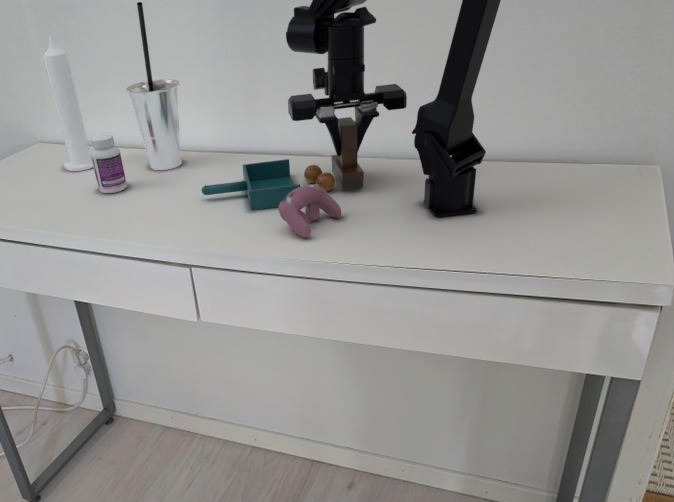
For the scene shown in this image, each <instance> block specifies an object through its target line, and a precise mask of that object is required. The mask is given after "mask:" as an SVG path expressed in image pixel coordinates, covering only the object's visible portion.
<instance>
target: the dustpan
mask: <svg viewBox="0 0 674 502" xmlns="http://www.w3.org/2000/svg"><path fill="white" fill-rule="evenodd" d="M241 167H242V174H243V180H242V181H234V182H225V183H224V182H223V183H217V184H209V185H208V184H207V185H203V186H202V188H201V193H202V195H204V196H211V195H212V196H213V195H219V194H227V193H236V192H245V191H246V194H247V200H248V203H249V207H250V209H253V210H254V211H257V210H266V209H273V208H279V204H280V203H281V201H283V199H284V198H285V197H286V196H287V195H288V194H289V193H290V192H291V191H293V190H294V189H296V188H298V187H301V183H299V184H294V181H293V180H292V177H291V167H290V159H289V158H287V159H278V160H270V161H262V162H260V161H259V162H252V163H244V164H242V166H241Z"/></svg>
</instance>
